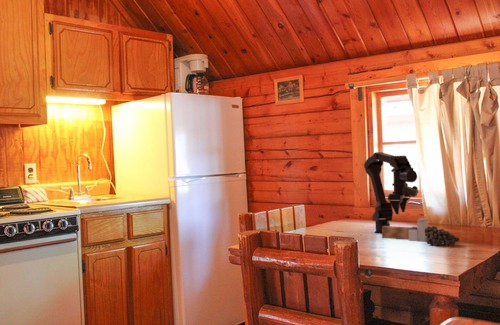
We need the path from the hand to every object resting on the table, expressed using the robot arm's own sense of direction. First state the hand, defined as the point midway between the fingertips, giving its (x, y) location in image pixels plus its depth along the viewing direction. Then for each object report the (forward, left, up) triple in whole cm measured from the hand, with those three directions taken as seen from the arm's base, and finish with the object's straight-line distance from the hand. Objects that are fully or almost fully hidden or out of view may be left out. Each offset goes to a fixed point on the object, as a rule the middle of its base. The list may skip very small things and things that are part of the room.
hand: (400, 213), depth 244 cm
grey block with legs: (+9, -3, -12) cm, 15 cm away
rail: (0, -3, -12) cm, 12 cm away
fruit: (+22, -13, -12) cm, 28 cm away
